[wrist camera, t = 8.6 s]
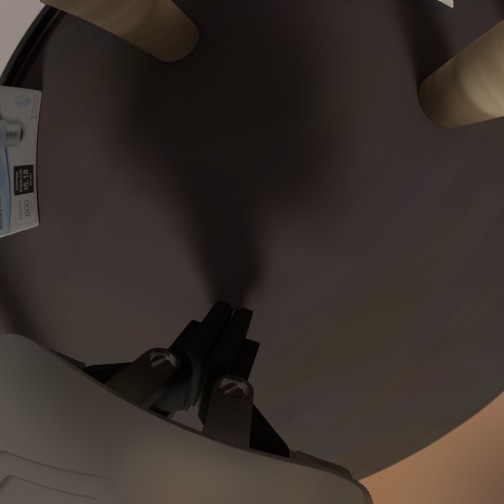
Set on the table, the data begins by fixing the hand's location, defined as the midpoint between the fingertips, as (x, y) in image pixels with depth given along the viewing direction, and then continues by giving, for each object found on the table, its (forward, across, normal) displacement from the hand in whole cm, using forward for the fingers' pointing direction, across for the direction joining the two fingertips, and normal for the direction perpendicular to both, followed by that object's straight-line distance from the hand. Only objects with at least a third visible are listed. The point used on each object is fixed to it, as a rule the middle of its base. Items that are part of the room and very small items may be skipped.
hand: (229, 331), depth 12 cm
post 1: (+2, +6, -13) cm, 15 cm away
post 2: (+2, -7, -13) cm, 15 cm away
